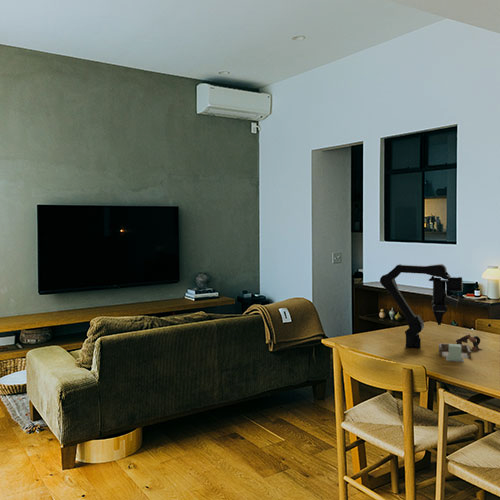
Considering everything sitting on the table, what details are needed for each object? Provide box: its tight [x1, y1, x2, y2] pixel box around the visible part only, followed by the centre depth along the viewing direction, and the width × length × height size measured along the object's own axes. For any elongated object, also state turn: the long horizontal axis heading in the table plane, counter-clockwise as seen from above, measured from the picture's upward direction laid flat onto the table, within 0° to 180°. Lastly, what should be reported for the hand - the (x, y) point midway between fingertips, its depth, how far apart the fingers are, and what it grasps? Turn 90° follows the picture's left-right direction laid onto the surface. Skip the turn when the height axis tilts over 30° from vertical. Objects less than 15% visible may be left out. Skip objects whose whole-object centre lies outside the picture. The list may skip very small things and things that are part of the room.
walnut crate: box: [438, 342, 472, 359], centre depth 238 cm, size 13×13×3 cm
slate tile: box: [445, 356, 465, 363], centre depth 228 cm, size 7×7×1 cm
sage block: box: [448, 343, 461, 361], centre depth 228 cm, size 5×5×6 cm
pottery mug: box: [455, 334, 481, 352], centre depth 248 cm, size 12×10×8 cm
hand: (439, 323), depth 246 cm, fingers open, 9 cm apart
